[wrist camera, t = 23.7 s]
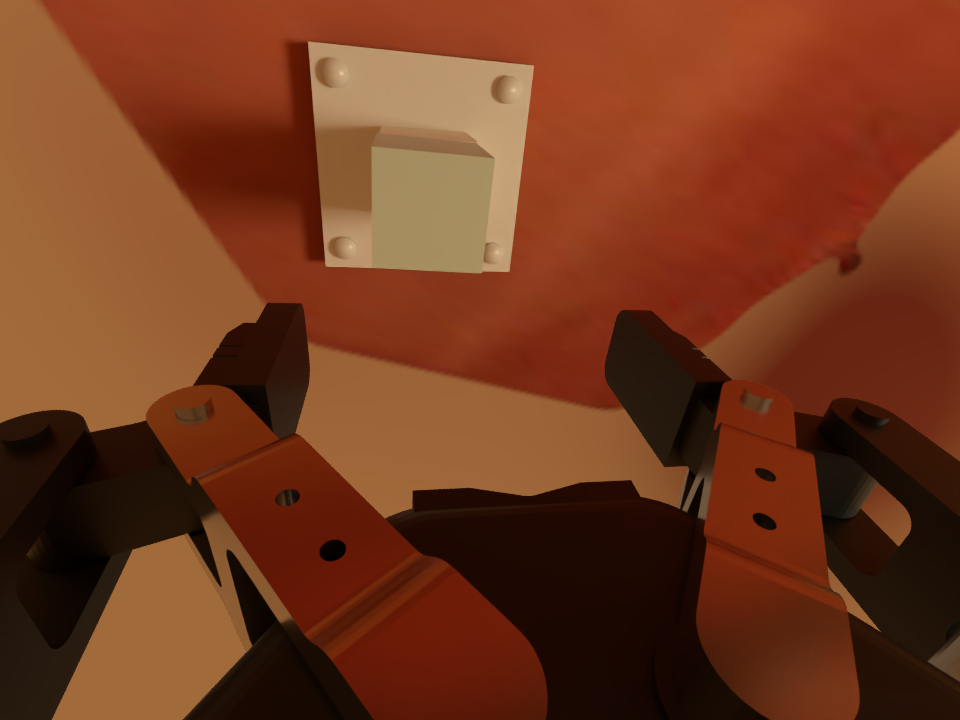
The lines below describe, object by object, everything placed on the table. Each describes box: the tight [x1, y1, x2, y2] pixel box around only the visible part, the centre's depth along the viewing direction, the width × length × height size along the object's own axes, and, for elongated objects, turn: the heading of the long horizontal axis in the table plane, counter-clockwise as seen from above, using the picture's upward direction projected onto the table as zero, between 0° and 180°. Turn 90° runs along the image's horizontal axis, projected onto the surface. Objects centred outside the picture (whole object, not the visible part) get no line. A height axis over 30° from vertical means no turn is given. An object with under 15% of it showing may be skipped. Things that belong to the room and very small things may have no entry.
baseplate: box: [308, 42, 534, 272], centre depth 34 cm, size 14×14×2 cm
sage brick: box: [371, 133, 495, 273], centre depth 26 cm, size 6×6×6 cm
